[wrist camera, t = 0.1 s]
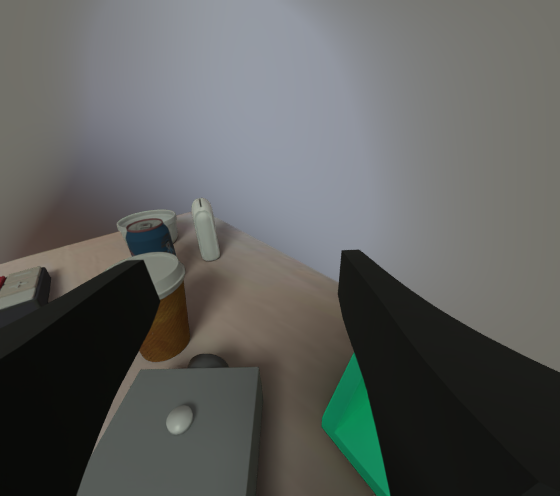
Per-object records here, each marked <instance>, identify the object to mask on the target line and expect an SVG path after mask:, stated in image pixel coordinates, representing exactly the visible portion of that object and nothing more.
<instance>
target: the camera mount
mask: <svg viewBox="0 0 560 496" xmlns="http://www.w3.org/2000/svg"><path fill="white" fill-rule="evenodd" d="M322 428H323V429H324V430H325V432H326V433H327V434H328V435H329V437H330V438H331V439H332V440H333V442H334V443H335V444H336V445H337V447H338V448H339V449H340V450H341V452H342V453H343V454H344V455H345V457H346V458H347V459H348V460H349V462H350V463H351V464H352V465H353V467H354V468H355V469H356V470H357V472H358V473H359V474H360V475H361V477H362V478H363V479H364V480H365V482H366V483H367V484H368V485H369V487H370V488H371V489H372V490H373V492H374V493H375V494H376V495H377V496H390V492H389V487H388V482H387V477H386V472H385V468H384V463H383V458H382V454H381V450H380V445H379V441H378V436H377V432H376V427H375V423H374V419H373V415H372V410H371V406H370V402H369V398H368V394H367V390H366V387H365V383H364V380H363V377H362V374H361V371H360V368H359V365H358V362H357V359H356V356H355V353H353V355H352V357H351V359H350V362H349V364H348V366H347V368H346V370H345V372H344V374H343V376H342V378H341V380H340V382H339V384H338V386H337V388H336V390H335V392H334V394H333V396H332V398H331V400H330V402H329V404H328V406H327V408H326V410H325V412H324V414H323V416H322Z"/></svg>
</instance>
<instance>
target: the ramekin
mask: <svg viewBox="0 0 560 496" xmlns="http://www.w3.org/2000/svg"><path fill="white" fill-rule="evenodd" d="M149 218H159V219H161V220H163V223H164V224H165V225H166V226H167V227H168V229H169V232H170V235H171V239H172V243H174V242H175V241H176V239H177V236H178V231H177V224H176V219H177V217H176V214H175V212H173V211H170V210H152V211H145V212H140V213H136V214H133V215H129V216H127V217H125V218H123V219H121V220H120V221H118V223H117V227H118V230H119V231H120V232H121V234H122V236H123V238H124V240H125V241H126V239H125V238H126V233H127V230H126V227H127V225H129V224H131V223H133V222H136V221H139V220H143V219H149ZM126 243H127V242H126ZM127 245H128V244H127Z"/></svg>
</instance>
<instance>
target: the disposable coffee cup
mask: <svg viewBox="0 0 560 496" xmlns="http://www.w3.org/2000/svg"><path fill="white" fill-rule="evenodd" d="M127 260H144V262H145V264H146V267H147V269H148V272H149V274H150V276H151V279H152V281H153V284H154V286H155V289H156V291H157V294H158V296H159V299H160V301H161V302H160V305H159V308H158V311H157V314H156V316H155V319H154V321H153V324H152V327H151V329H150V330H149V332H148V334H147V336H146V338H145V340H144V342H143V344H142V346H141V348H140V350H139V351H140V353H141V354H142V356H143V357H144V358H145V359H146V360H148V361H151V362H160V361H165V360H168V359H170V358H172V357H174V356H176V355H177V354H179V353H180V352H181V351H182V350H183V349H184V348H185V347H186V346H187V344H188V342H189V340H190V332H189V324H188V315H187V307H186V298H185V290H184V281H183V280H184V275H185V267H184V265H183V264H182V263H181V262H179V260H178V258H177V257H176V256H175V255H173V254H170V253H166V252H152V253H145V254H140V255H136V256H133V257H129V258H127V259H124V260H122V261H120V262H117V263H116V264H114V265H112V266H111V267H109V268H108V269H106V270H105V271H107V270H109V269H110V268H112V267H114V266H116V265H118V264H120V263H122V262H125V261H127ZM105 271H104V272H105Z"/></svg>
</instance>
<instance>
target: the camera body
mask: <svg viewBox="0 0 560 496" xmlns="http://www.w3.org/2000/svg"><path fill="white" fill-rule="evenodd" d="M262 404H263V394H262V387H261V380H260V372H259V367H236V368H229V367H228V364H227V363H226V362H225V360H223V359H222V358H220V357H219V356H216V355H213V354H200V355H197V356H195V357H193V358H192V359H191V360H190V362H189V365H188V368H187V369H147V370H140V371H139V373H138V375H137V377H136V378H135V380H134V382H133V384H132V385H131V387H130V389H129V391H128V392H127V394H126V396H125V398H124V399H123V401H122V403H121V405H120V406H119V408H118V410H117V412H116V413H115V415H114V417H113V419H112V421H111V422H110V424H109V426H108V428H107V429H106V431H105V433H104V435H103V436H102V438H101V440H100V442H99V443H98V445H97V447H96V449H95V450H94V452H93V454H92V456H91V457H90V459H89V462H88V465H87V467H86V470H85V473H84V476H83V478H82V481H81V484H80V487H79V490H78V493H77V496H256V485H257V471H258V458H259V444H260V431H261V418H262Z"/></svg>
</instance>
